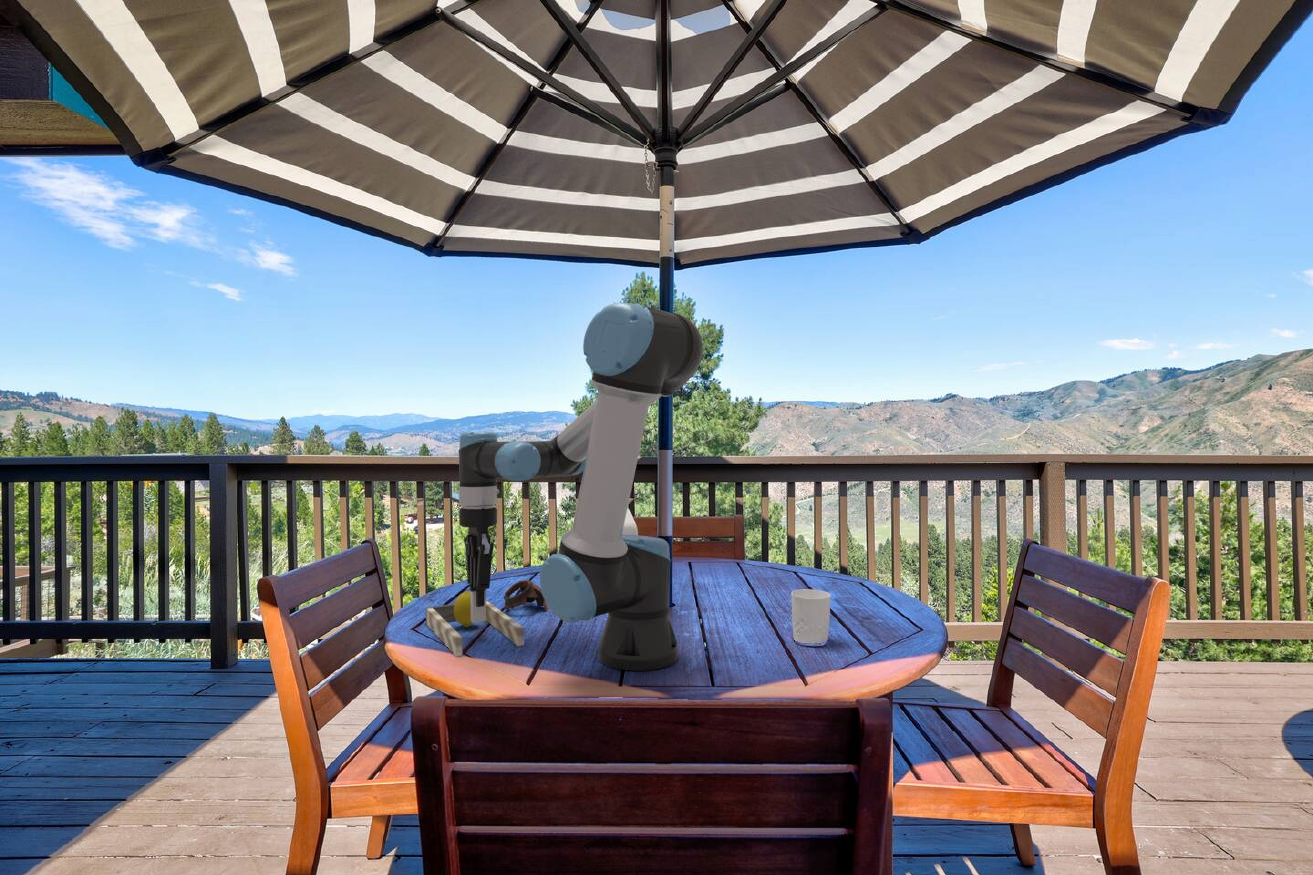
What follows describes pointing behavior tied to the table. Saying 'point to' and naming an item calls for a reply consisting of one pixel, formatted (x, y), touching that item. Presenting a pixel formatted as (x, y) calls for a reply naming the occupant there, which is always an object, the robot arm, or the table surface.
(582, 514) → the robot arm
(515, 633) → the channel
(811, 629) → the white cup
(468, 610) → the lemon
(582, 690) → the table surface
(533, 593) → the brown open ring
